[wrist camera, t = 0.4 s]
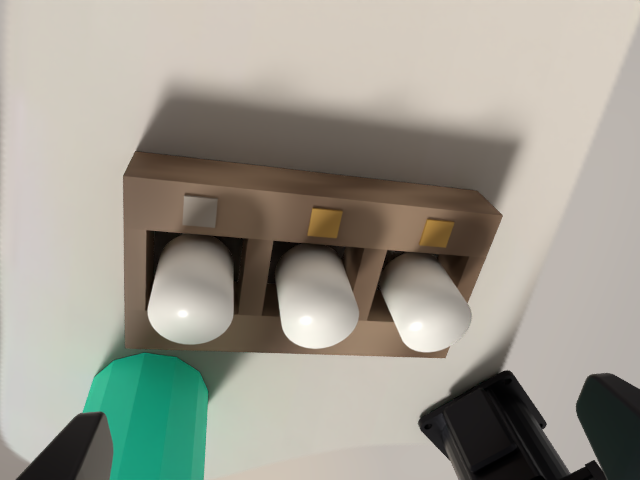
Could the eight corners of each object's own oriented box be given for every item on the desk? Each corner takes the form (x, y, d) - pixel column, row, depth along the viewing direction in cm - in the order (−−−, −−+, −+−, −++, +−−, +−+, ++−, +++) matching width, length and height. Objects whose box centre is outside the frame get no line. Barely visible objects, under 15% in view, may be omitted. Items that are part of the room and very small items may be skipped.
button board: (477, 190, 23) (503, 216, 20) (428, 325, 26) (445, 359, 24) (135, 151, 19) (122, 177, 17) (135, 311, 23) (124, 350, 21)
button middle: (349, 245, 21) (366, 289, 18) (335, 301, 22) (349, 349, 20) (280, 240, 20) (287, 284, 18) (270, 297, 22) (276, 347, 19)
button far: (451, 253, 22) (481, 296, 19) (431, 306, 24) (457, 353, 21) (388, 248, 21) (411, 292, 19) (372, 303, 23) (391, 351, 20)
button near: (236, 236, 20) (237, 281, 17) (230, 295, 21) (229, 345, 19) (160, 230, 19) (148, 275, 17) (158, 291, 21) (147, 343, 18)
